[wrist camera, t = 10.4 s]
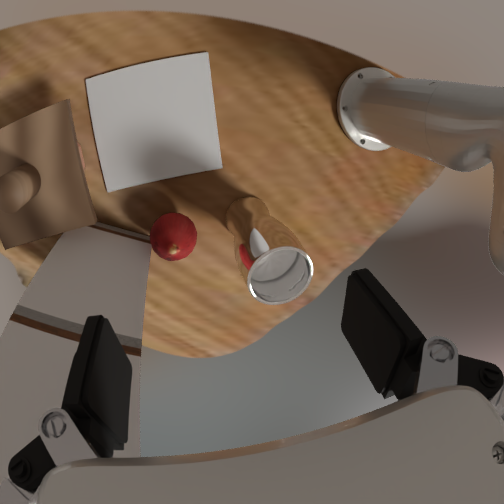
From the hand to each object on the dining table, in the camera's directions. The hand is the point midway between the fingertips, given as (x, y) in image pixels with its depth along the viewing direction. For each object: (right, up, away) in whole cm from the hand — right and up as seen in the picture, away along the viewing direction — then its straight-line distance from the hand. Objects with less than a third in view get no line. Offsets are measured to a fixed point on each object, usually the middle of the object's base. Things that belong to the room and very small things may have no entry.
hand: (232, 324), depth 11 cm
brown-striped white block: (-20, +2, +28) cm, 34 cm away
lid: (-24, +11, +14) cm, 30 cm away
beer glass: (0, +7, +30) cm, 31 cm away
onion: (-10, +6, +28) cm, 30 cm away
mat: (-11, +18, +21) cm, 30 cm away
